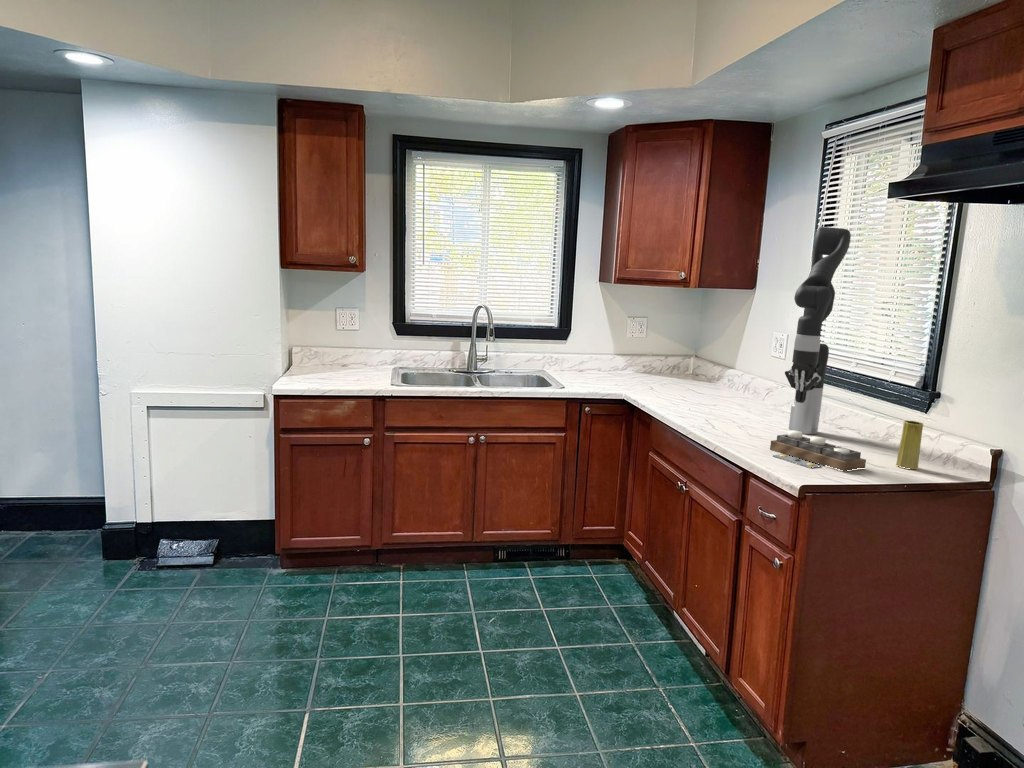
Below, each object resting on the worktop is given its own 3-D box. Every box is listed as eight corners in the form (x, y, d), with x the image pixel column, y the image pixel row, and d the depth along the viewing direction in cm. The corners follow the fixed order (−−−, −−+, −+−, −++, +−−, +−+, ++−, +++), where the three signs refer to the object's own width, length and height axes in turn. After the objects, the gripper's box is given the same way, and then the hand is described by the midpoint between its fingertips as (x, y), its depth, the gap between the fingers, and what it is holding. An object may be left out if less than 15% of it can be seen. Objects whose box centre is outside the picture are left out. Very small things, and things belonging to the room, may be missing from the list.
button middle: (806, 443, 218) (807, 436, 218) (815, 441, 221) (816, 435, 220) (818, 446, 215) (819, 440, 214) (827, 445, 217) (828, 439, 217)
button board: (769, 449, 227) (771, 434, 227) (790, 447, 232) (791, 432, 232) (844, 472, 204) (846, 456, 204) (864, 469, 209) (867, 453, 209)
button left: (784, 436, 226) (785, 430, 225) (793, 435, 228) (794, 429, 228) (795, 439, 222) (796, 433, 222) (804, 438, 224) (805, 432, 224)
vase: (910, 464, 218) (917, 420, 215) (922, 470, 211) (929, 425, 209) (891, 464, 217) (898, 419, 215) (903, 469, 211) (910, 424, 209)
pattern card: (772, 456, 219) (772, 454, 219) (783, 455, 221) (783, 453, 221) (810, 468, 207) (811, 466, 207) (821, 466, 209) (821, 465, 209)
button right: (829, 454, 211) (830, 448, 211) (839, 453, 214) (839, 447, 213) (842, 458, 208) (843, 452, 207) (852, 457, 210) (852, 450, 210)
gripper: (832, 351, 216) (825, 405, 219) (796, 346, 227) (790, 397, 230) (817, 352, 212) (810, 407, 215) (781, 346, 224) (775, 399, 227)
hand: (799, 402), depth 223 cm, fingers closed
